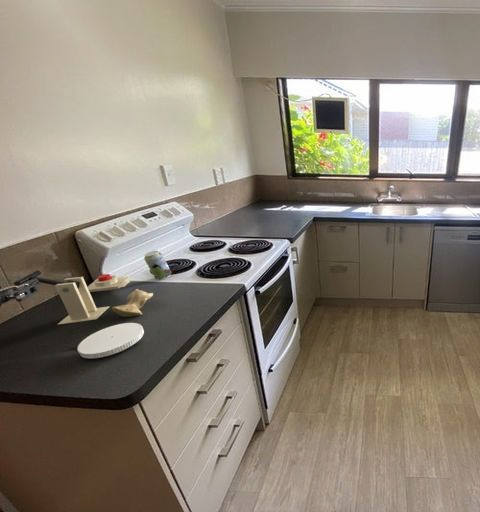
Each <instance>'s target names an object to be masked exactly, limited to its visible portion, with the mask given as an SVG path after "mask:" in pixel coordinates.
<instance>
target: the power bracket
mask: <svg viewBox="0 0 480 512" xmlns="http://www.w3.org/2000/svg"><path fill="white" fill-rule="evenodd" d="M68 280H70V281H75V282H80V285H79V289H78V288H77V286H76V284H75V282H72V283H63V284H57V285H54V287H55V289H56V291H57V293H58V296H59V297H60V299H61V301H62V303H63V306H64V308H65V310H66V312H67V314H68V315H67V316H66V317H64V318H63V319H62V320H60V322H59V323H57V324H56V325H57V326H58V325H65V324H72V323H79V322H88V321H93V320H94V321H95V320H97V319H99V317H101V316H102V315H103V314H104V313H105V312H106V311H107V310H108V309H109V308H110V306H102V307H101V306H100V307H97V306H96V304H95V301H94V299H93V297H92V295H91V292H89V290H88V288H87V287H88V285H87V283H86V281H85V279H84V276H77V277H68V278H67V277H66V278H65V279H64V278H63V282H67V281H68Z"/></svg>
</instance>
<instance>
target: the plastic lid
mask: <svg viewBox="0 0 480 512" xmlns="http://www.w3.org/2000/svg"><path fill="white" fill-rule="evenodd" d="M144 334H145V330H144V328H143V326H142V324H140V323H137V322H124V323H119V324H115V325H111V326H107V327H104V328H102V329H100V330H98V331H96V332H94V333H91V334H90V335H89V336H87V337H86V338H84V339H83V340H81V342H80V343H79V344H78V345H77V352H78V354H79V356H80V357H82V358H84V359H100V358H104V357H109V356H112V355H115V354H118V353H120V352H123V351H125V350H127V349H128V348H130V347H132V346H134V345H135V344H136V343H138V341H140V340H141V339H142V338H143V336H144Z"/></svg>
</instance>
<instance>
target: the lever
mask: <svg viewBox="0 0 480 512" xmlns="http://www.w3.org/2000/svg"><path fill="white" fill-rule="evenodd" d="M41 274H42V271H40V270H35V271H33V272H31V273H29V274H27V275H25V276H23V277H21V278H20V279H17V280H16V281H14V282H13V286H15V287H16V286H19V285H22V284H24V283H26V282H28V281H30V280H32V279H37V280H38V281H39V283H40V284H46V285H51V286H55V285H57V284H63V283H72V282H75V281H70V280H68V281H67V282H64V281H59V280H54V279H49V278H43V277H39V276H40V275H41ZM75 284H76V286H77V288H78V289H79V285H80V282H75Z"/></svg>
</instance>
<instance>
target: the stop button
mask: <svg viewBox="0 0 480 512" xmlns="http://www.w3.org/2000/svg"><path fill="white" fill-rule="evenodd" d="M97 279H99V281H100V282H101V281H107V280H110V279H112V278H111V274H110V273H104V274H100V275H98V276H97Z"/></svg>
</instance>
